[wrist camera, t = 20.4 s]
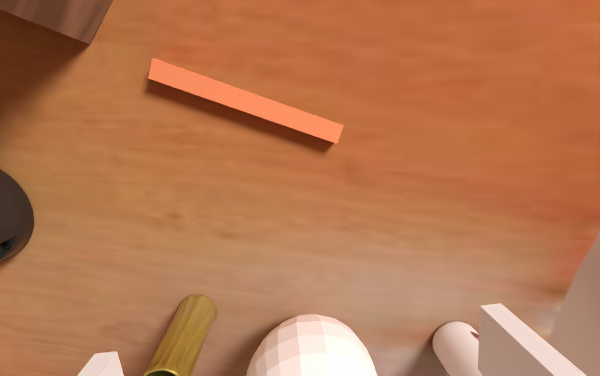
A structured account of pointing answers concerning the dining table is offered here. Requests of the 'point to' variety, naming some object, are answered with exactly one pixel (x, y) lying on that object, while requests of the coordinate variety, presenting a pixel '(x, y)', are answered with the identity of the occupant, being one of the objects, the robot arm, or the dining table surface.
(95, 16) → the stand
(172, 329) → the vase
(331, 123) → the lever bar
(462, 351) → the milk bottle
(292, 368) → the pitcher
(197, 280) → the dining table surface
